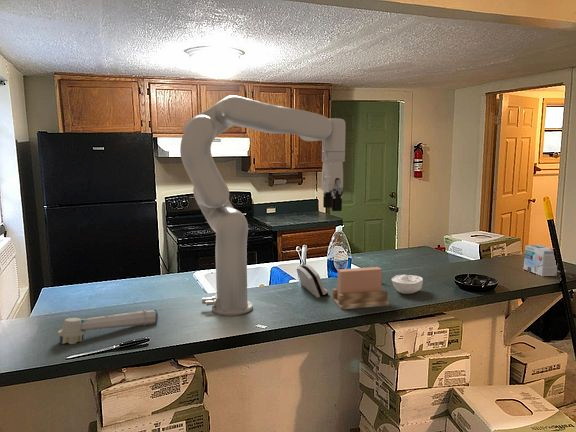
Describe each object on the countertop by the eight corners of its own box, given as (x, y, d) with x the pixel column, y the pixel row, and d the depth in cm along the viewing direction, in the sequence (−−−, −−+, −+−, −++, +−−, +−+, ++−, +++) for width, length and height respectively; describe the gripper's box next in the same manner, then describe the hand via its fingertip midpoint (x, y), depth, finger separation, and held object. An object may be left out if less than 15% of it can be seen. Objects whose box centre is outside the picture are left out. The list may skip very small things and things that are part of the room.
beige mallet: (159, 312, 123) (61, 319, 108) (157, 334, 123) (59, 345, 109) (153, 306, 127) (58, 313, 112) (151, 329, 128) (56, 338, 113)
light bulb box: (522, 270, 178) (524, 245, 177) (537, 269, 180) (539, 244, 178) (542, 277, 168) (544, 250, 167) (557, 276, 169) (559, 249, 168)
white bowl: (429, 292, 151) (430, 273, 150) (408, 299, 143) (409, 279, 143) (405, 285, 159) (406, 267, 158) (384, 292, 151) (385, 273, 150)
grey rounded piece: (330, 296, 147) (321, 270, 145) (318, 302, 146) (309, 275, 144) (313, 282, 163) (305, 258, 161) (302, 287, 162) (293, 264, 160)
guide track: (341, 309, 135) (341, 296, 134) (331, 299, 144) (331, 287, 144) (389, 305, 138) (389, 293, 137) (376, 295, 148) (376, 284, 147)
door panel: (340, 302, 138) (340, 271, 137) (337, 299, 141) (337, 269, 140) (381, 298, 141) (381, 269, 140) (377, 296, 144) (377, 266, 143)
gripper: (315, 157, 149) (314, 206, 151) (329, 157, 132) (328, 212, 135) (336, 157, 151) (335, 206, 153) (353, 157, 134) (351, 212, 136)
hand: (332, 209), depth 144 cm, fingers open, 9 cm apart
